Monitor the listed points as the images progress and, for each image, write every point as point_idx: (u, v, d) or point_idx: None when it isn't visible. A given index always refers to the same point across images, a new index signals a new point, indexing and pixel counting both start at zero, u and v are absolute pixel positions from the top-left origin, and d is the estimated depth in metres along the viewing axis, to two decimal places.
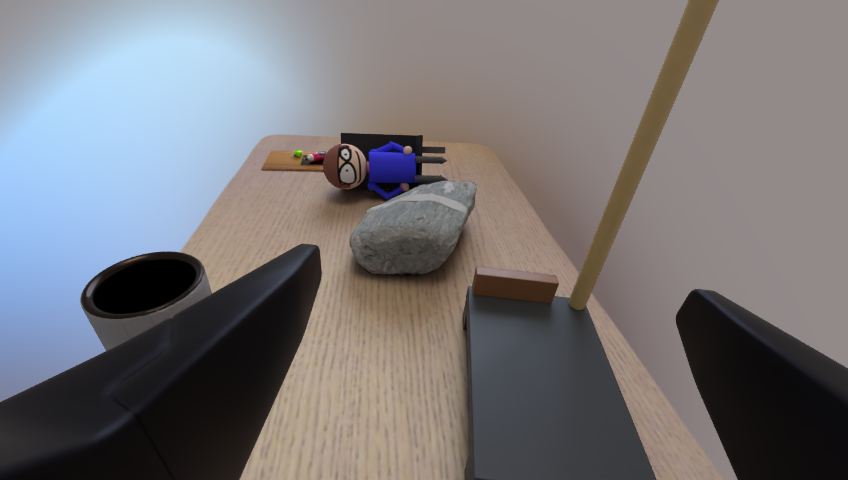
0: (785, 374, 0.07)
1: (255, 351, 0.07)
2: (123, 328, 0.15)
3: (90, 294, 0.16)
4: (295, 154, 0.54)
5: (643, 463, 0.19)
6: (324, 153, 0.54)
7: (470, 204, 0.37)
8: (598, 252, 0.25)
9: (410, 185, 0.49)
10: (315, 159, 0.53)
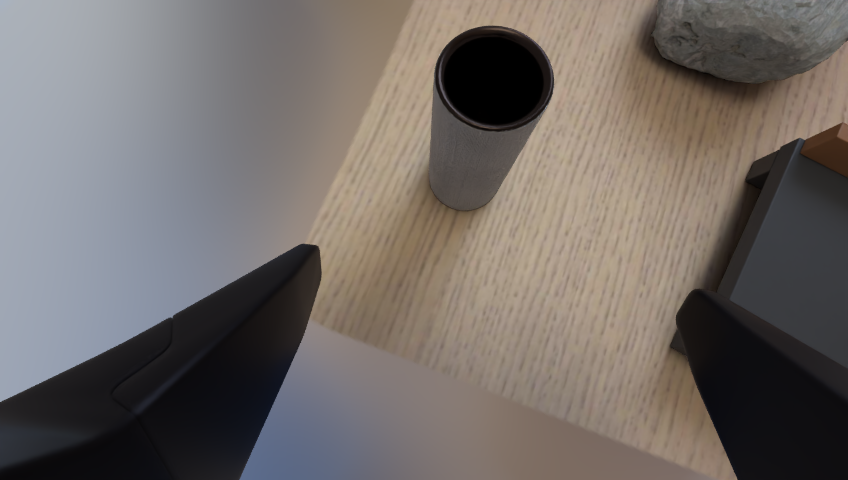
0: (785, 374, 0.07)
1: (255, 351, 0.07)
2: (474, 135, 0.14)
3: (443, 79, 0.14)
4: None
5: None
6: None
7: None
8: None
9: None
10: None
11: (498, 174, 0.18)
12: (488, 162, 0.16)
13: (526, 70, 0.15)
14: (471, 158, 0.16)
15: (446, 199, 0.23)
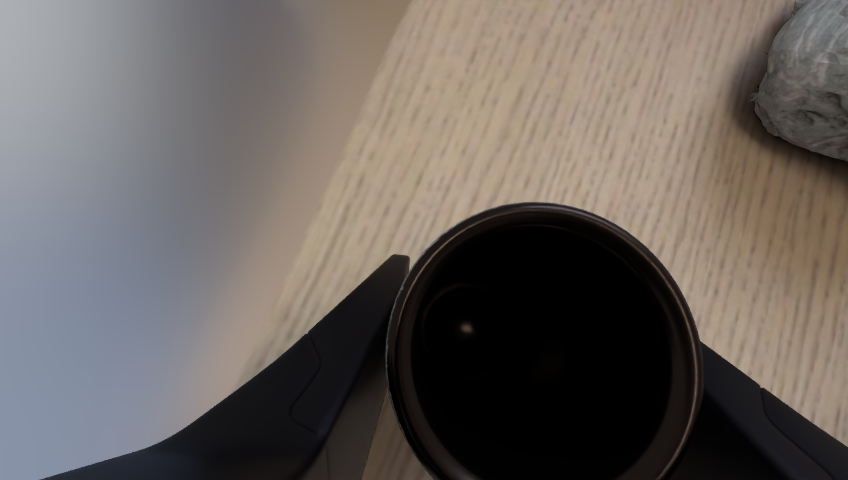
0: None
1: (378, 366, 0.07)
2: None
3: (408, 363, 0.05)
4: None
5: None
6: None
7: None
8: None
9: None
10: None
11: None
12: None
13: (613, 290, 0.06)
14: None
15: None
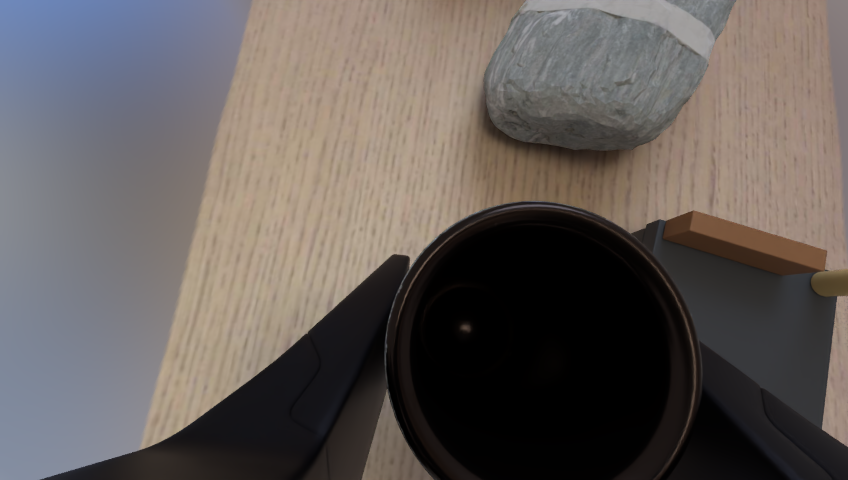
0: None
1: (378, 366, 0.07)
2: None
3: (407, 362, 0.05)
4: None
5: None
6: None
7: (724, 25, 0.19)
8: None
9: None
10: None
11: None
12: None
13: (611, 289, 0.06)
14: None
15: None
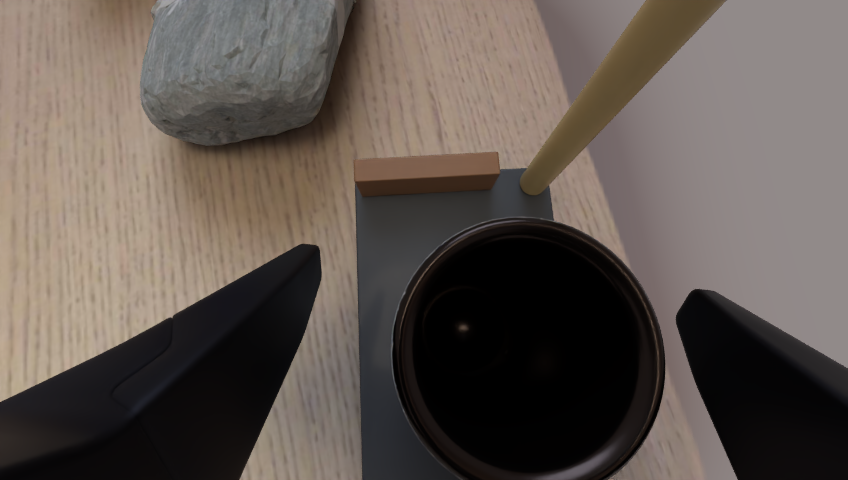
0: (785, 374, 0.07)
1: (255, 351, 0.07)
2: None
3: (411, 357, 0.06)
4: None
5: None
6: None
7: None
8: (572, 143, 0.12)
9: None
10: None
11: None
12: None
13: (590, 293, 0.07)
14: None
15: None
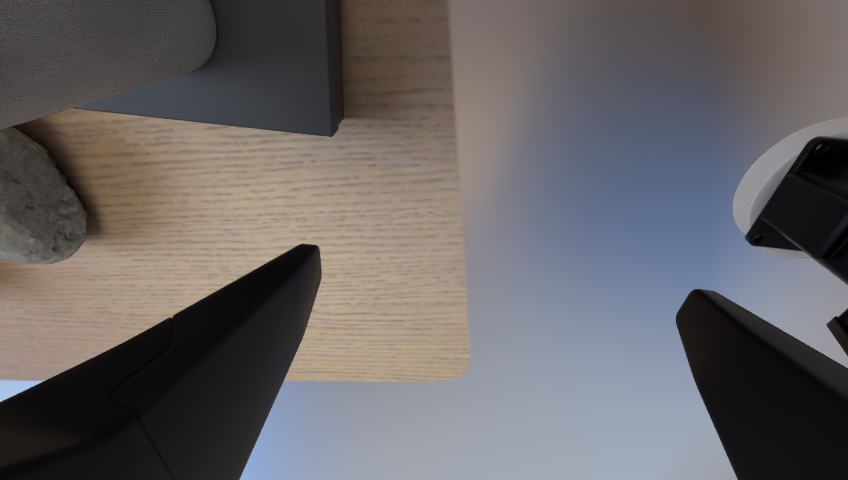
0: (785, 374, 0.07)
1: (255, 351, 0.07)
2: None
3: None
4: None
5: None
6: None
7: None
8: None
9: None
10: None
11: None
12: (52, 35, 0.09)
13: None
14: (53, 70, 0.09)
15: (196, 57, 0.15)
